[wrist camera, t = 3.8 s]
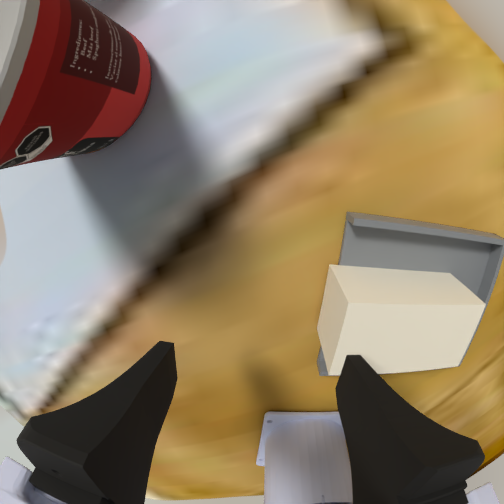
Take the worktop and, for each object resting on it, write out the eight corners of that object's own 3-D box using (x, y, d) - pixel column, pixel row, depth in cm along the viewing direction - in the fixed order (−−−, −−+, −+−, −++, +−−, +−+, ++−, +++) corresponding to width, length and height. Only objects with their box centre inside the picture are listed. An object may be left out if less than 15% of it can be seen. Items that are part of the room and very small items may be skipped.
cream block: (316, 328, 19) (430, 328, 19) (328, 375, 14) (458, 365, 14) (329, 264, 17) (449, 272, 17) (348, 302, 13) (485, 304, 13)
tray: (451, 355, 20) (459, 366, 19) (316, 361, 20) (319, 375, 19) (495, 234, 16) (507, 240, 15) (347, 211, 16) (354, 217, 15)
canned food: (37, 130, 15) (-95, 149, 5) (86, 23, 12) (-31, -28, 2) (118, 173, 16) (-29, 224, 6) (180, 52, 13) (74, -44, 3)
